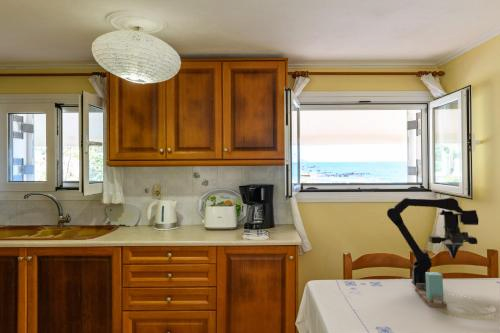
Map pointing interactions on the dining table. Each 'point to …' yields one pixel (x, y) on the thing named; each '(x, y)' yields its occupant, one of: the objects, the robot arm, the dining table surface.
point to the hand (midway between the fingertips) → (453, 258)
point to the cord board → (421, 292)
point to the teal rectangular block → (434, 285)
